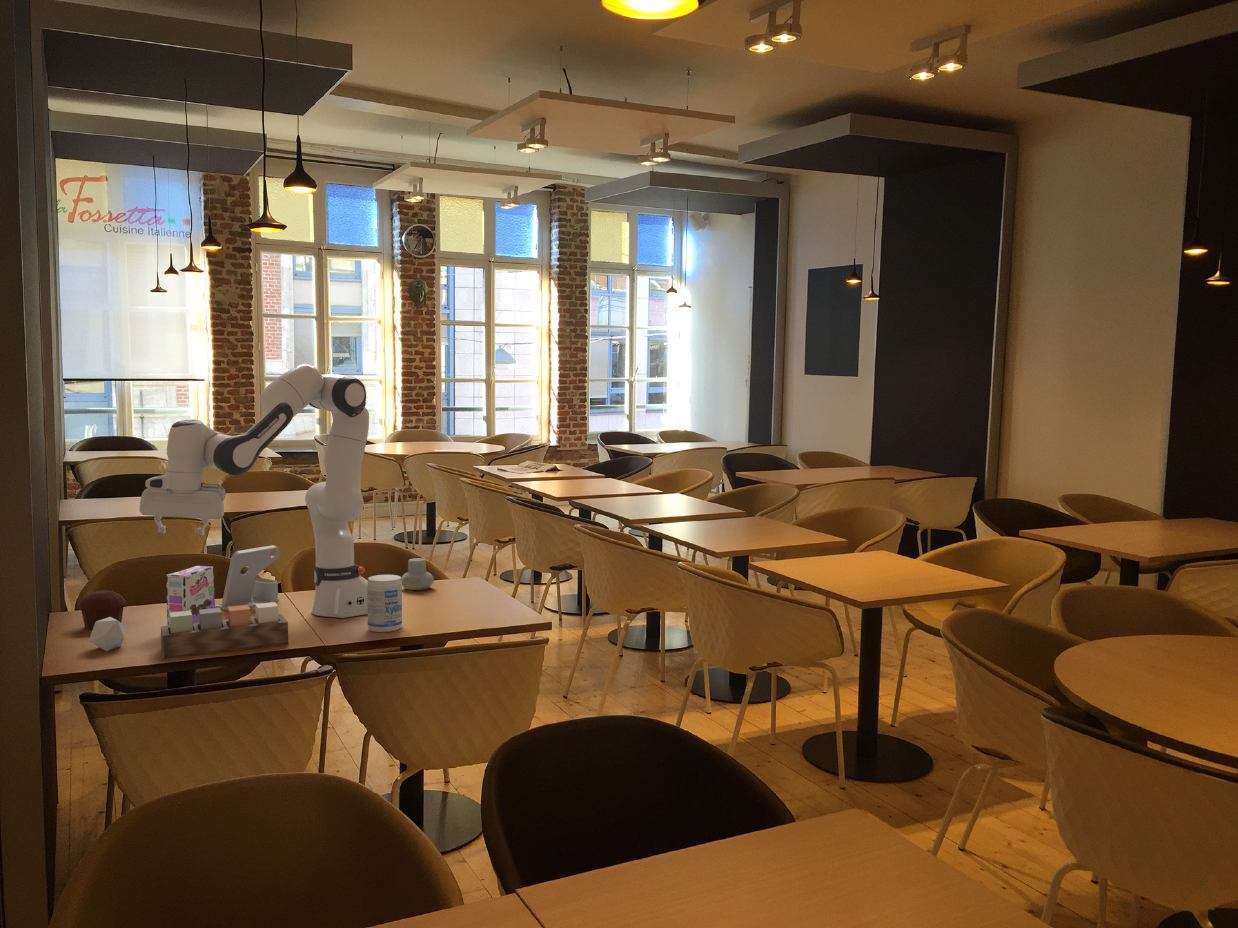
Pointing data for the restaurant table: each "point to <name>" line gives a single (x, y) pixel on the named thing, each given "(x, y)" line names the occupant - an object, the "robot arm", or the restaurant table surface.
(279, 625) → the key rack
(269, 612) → the ivory key
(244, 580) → the phone holder
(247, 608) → the terracotta key
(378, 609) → the supplement tub
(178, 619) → the sage key
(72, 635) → the restaurant table surface
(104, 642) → the die
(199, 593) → the candy box
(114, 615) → the muffin
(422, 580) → the air freshener
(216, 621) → the slate key
